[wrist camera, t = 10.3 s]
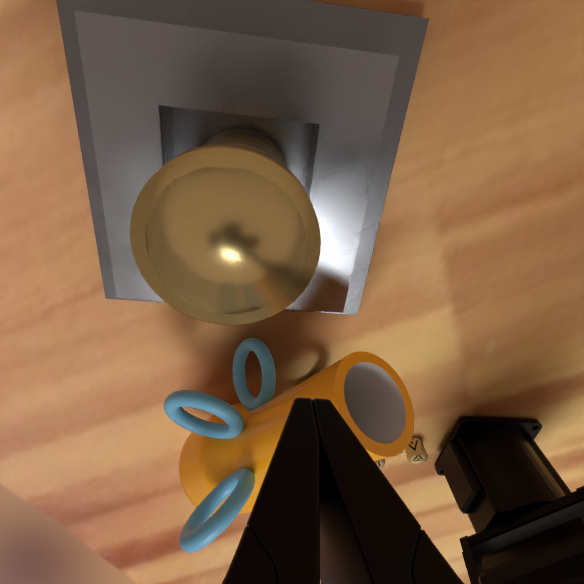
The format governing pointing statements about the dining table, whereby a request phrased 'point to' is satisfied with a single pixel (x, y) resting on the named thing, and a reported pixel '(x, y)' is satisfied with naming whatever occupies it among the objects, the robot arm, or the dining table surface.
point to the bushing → (226, 231)
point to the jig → (243, 113)
